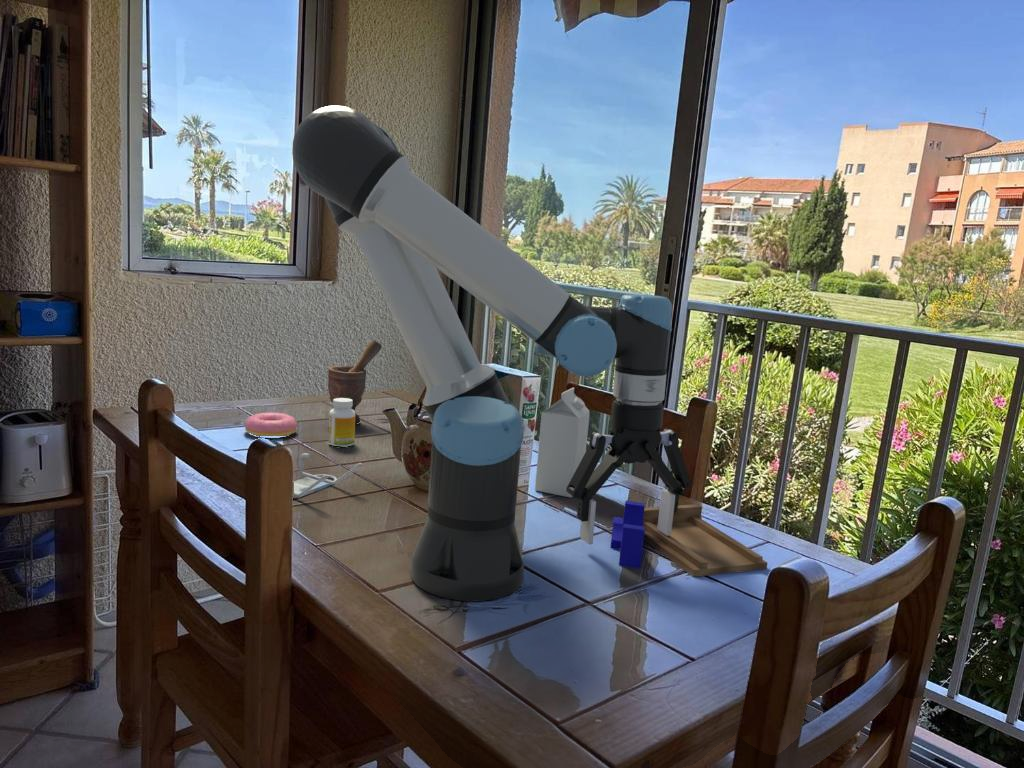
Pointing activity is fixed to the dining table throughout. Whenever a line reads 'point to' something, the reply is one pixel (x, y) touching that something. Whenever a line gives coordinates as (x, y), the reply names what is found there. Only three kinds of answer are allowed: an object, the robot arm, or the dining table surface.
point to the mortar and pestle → (351, 378)
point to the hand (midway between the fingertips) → (626, 537)
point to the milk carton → (561, 443)
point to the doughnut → (270, 424)
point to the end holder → (699, 544)
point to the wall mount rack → (313, 485)
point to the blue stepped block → (629, 534)
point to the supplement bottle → (342, 423)
